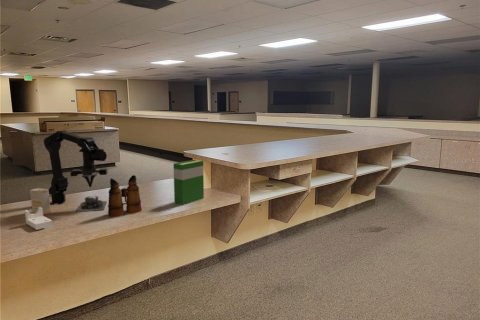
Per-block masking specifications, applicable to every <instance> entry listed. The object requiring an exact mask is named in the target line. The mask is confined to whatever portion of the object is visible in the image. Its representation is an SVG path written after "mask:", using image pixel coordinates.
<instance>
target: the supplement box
mask: <svg viewBox="0 0 480 320" xmlns="http://www.w3.org/2000/svg"><path fill="white" fill-rule="evenodd" d="M29 192H30V200H31V201H30V202H31V209H32V210H31V211H32V214H34V213H36V212H37V211H38V207H41V208H43V216H44V215H47V214H50V213H51V212H52V211H51V203H50V202H51V201H50V194H49V188H39V187H36V188H33V189H30V190H29Z"/></svg>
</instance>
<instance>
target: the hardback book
mask: <svg viewBox="0 0 480 320" xmlns="http://www.w3.org/2000/svg"><path fill="white" fill-rule="evenodd" d="M204 187H205V186H204V160H199V161H197V160H196V159H192V160H186V161H179V162H175V163H173V192H174V194H173V196H174V204H179V205H186V204H190V203H193V202H195V201H196V202H197V201H200V200H202V199H204V198H205V197H204V194H205V193H204V191H205V189H204Z"/></svg>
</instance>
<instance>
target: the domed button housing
mask: <svg viewBox="0 0 480 320" xmlns="http://www.w3.org/2000/svg"><path fill="white" fill-rule="evenodd" d="M98 200H99V196H96V195H89V196H86V197H84V202H85V204H87V205H95V204H98V203H99V202H98Z"/></svg>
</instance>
